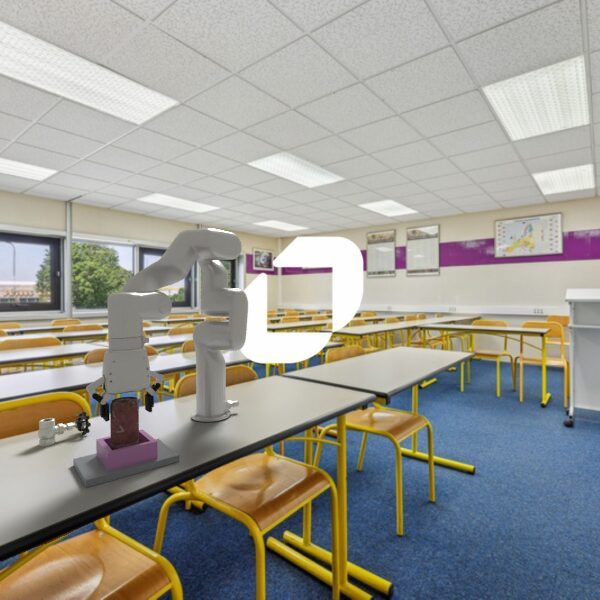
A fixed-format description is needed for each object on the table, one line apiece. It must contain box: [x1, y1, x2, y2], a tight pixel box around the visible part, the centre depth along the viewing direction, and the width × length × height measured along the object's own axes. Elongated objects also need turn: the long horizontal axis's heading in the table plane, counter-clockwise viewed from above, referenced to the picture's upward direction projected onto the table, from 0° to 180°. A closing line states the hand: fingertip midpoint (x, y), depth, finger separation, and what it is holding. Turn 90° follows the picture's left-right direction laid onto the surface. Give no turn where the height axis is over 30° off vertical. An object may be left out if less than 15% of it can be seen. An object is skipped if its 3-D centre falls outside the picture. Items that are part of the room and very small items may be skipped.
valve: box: [37, 411, 92, 447], centre depth 108 cm, size 7×7×12 cm
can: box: [109, 396, 140, 450], centre depth 91 cm, size 6×6×14 cm
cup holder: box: [72, 428, 180, 489], centre depth 92 cm, size 20×14×6 cm
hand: (128, 415), depth 92 cm, fingers open, 9 cm apart
